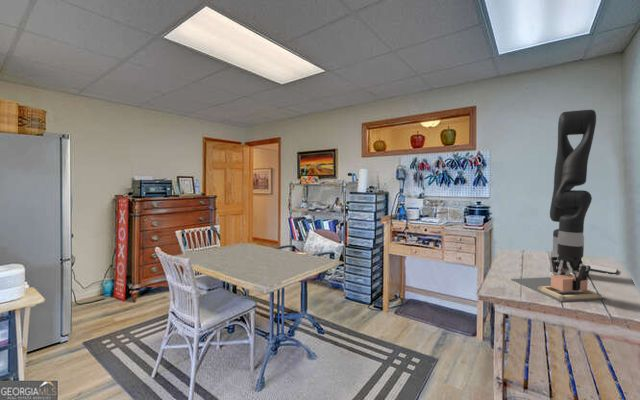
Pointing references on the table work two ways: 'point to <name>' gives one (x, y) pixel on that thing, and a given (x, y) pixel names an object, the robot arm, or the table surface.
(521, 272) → the table surface
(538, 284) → the mat
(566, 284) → the terracotta block
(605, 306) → the table surface
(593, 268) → the phone case
